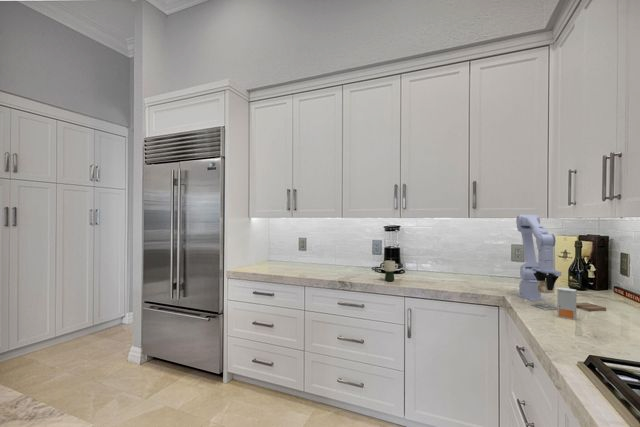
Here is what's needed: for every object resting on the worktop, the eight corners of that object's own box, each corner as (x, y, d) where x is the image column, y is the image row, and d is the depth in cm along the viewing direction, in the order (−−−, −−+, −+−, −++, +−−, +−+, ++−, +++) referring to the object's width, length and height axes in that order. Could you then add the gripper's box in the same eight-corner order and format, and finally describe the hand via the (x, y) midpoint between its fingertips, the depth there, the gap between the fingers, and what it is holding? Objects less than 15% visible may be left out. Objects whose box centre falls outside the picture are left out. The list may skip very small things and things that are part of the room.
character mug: (396, 279, 225) (396, 260, 225) (399, 281, 218) (399, 261, 218) (380, 279, 224) (380, 260, 225) (382, 282, 217) (382, 261, 217)
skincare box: (557, 317, 141) (556, 288, 141) (559, 315, 144) (559, 287, 144) (575, 320, 136) (574, 291, 136) (576, 318, 139) (576, 289, 139)
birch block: (537, 291, 157) (537, 280, 157) (546, 291, 158) (546, 280, 158) (544, 293, 153) (544, 282, 153) (554, 292, 154) (554, 282, 154)
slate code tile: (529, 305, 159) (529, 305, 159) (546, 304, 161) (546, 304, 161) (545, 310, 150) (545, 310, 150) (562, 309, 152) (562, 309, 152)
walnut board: (570, 306, 157) (570, 303, 157) (586, 305, 159) (586, 302, 159) (589, 311, 148) (589, 308, 148) (606, 310, 150) (606, 307, 150)
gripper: (525, 258, 162) (526, 286, 162) (551, 262, 148) (551, 292, 148) (538, 257, 163) (538, 285, 163) (565, 261, 149) (565, 292, 149)
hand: (545, 289), depth 156 cm, fingers closed on birch block, 4 cm apart
